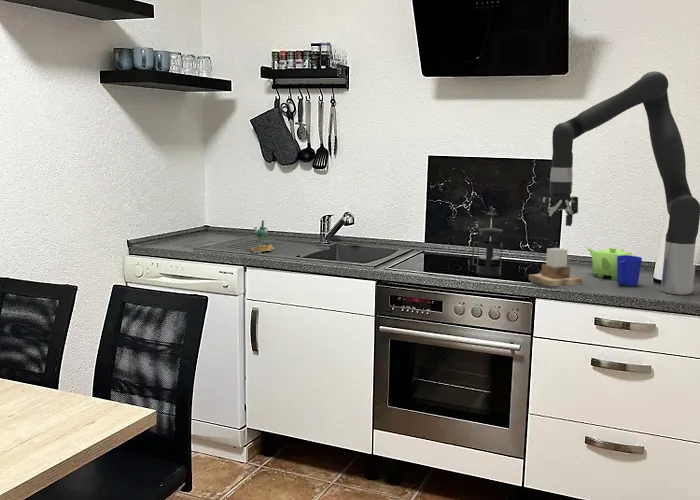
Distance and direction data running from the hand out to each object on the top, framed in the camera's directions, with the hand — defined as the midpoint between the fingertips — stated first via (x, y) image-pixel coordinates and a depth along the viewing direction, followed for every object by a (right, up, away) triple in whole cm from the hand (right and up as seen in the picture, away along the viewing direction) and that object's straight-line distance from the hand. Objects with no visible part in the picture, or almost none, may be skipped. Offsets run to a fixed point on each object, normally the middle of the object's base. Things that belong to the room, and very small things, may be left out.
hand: (558, 226), depth 247 cm
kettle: (+24, -19, +15) cm, 34 cm away
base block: (0, -18, +3) cm, 18 cm away
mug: (+24, -21, 0) cm, 32 cm away
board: (0, -20, +3) cm, 20 cm away
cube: (0, -14, +2) cm, 14 cm away
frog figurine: (-112, -9, +59) cm, 127 cm away
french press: (-22, -18, +17) cm, 33 cm away
